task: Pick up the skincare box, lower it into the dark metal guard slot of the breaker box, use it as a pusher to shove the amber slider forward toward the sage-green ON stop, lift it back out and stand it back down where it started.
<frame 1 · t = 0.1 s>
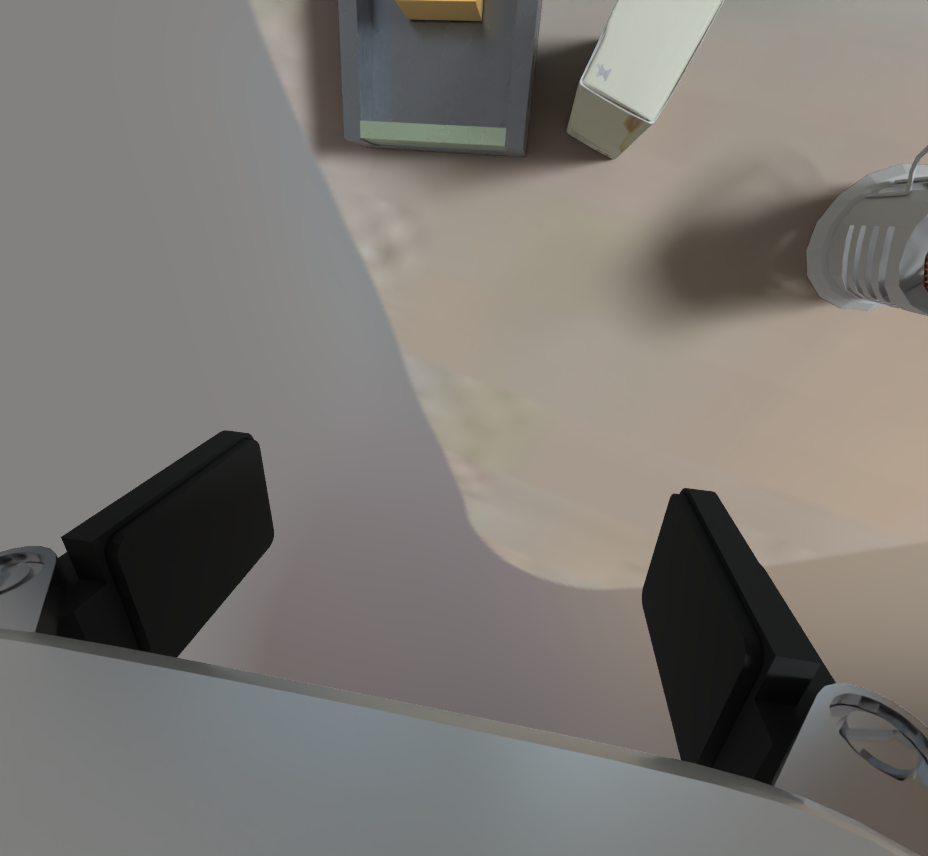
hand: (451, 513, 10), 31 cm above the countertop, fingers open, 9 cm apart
french press: (878, 229, 32), on the countertop
skincare box: (614, 99, 31), on the countertop
breaker box: (449, 29, 31), on the countertop
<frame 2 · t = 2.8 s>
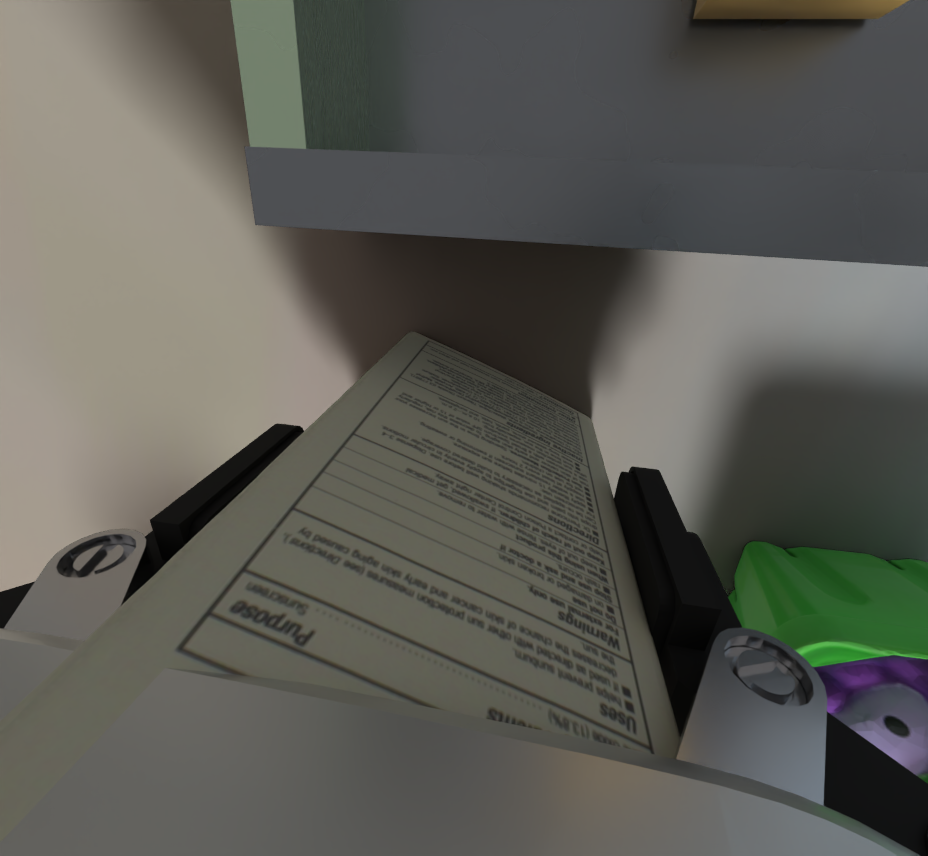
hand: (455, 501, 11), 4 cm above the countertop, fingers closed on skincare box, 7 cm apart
skincare box: (479, 428, 14), on the countertop, touching gripper
fruit basket: (802, 644, 16), on the countertop
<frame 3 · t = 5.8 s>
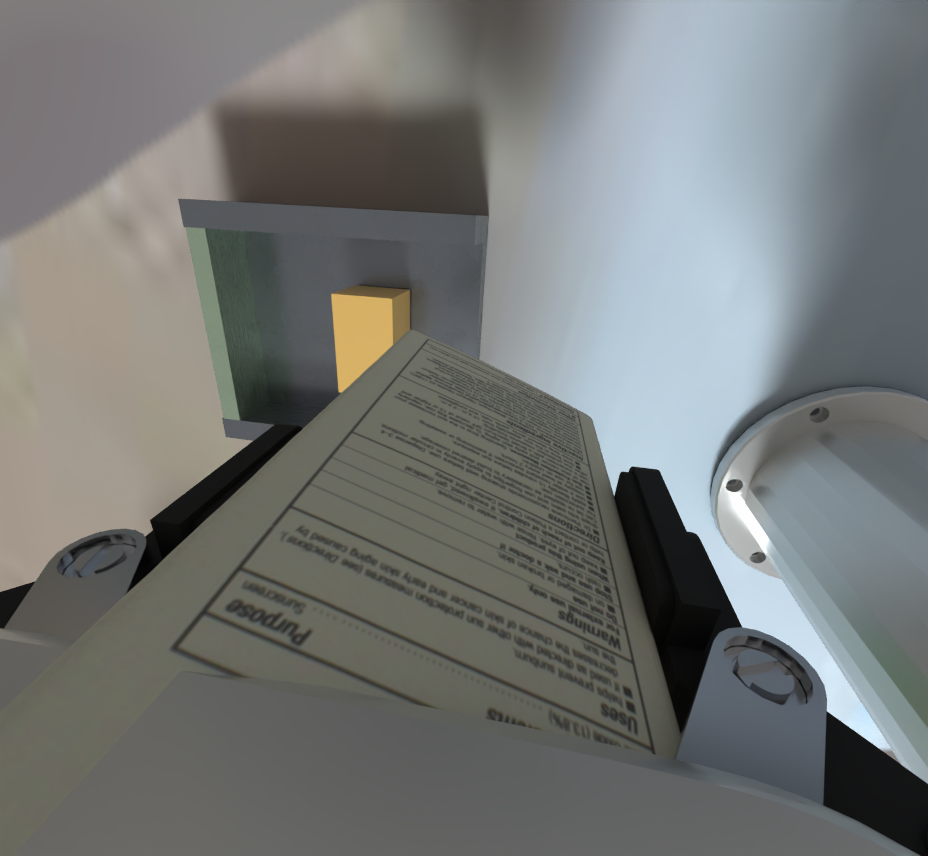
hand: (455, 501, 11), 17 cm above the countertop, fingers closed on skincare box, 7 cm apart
slider: (374, 340, 23), point 3 cm above the countertop, slide at 0.0 cm
skincare box: (479, 427, 14), point 12 cm above the countertop, touching gripper
breaker box: (368, 325, 26), on the countertop
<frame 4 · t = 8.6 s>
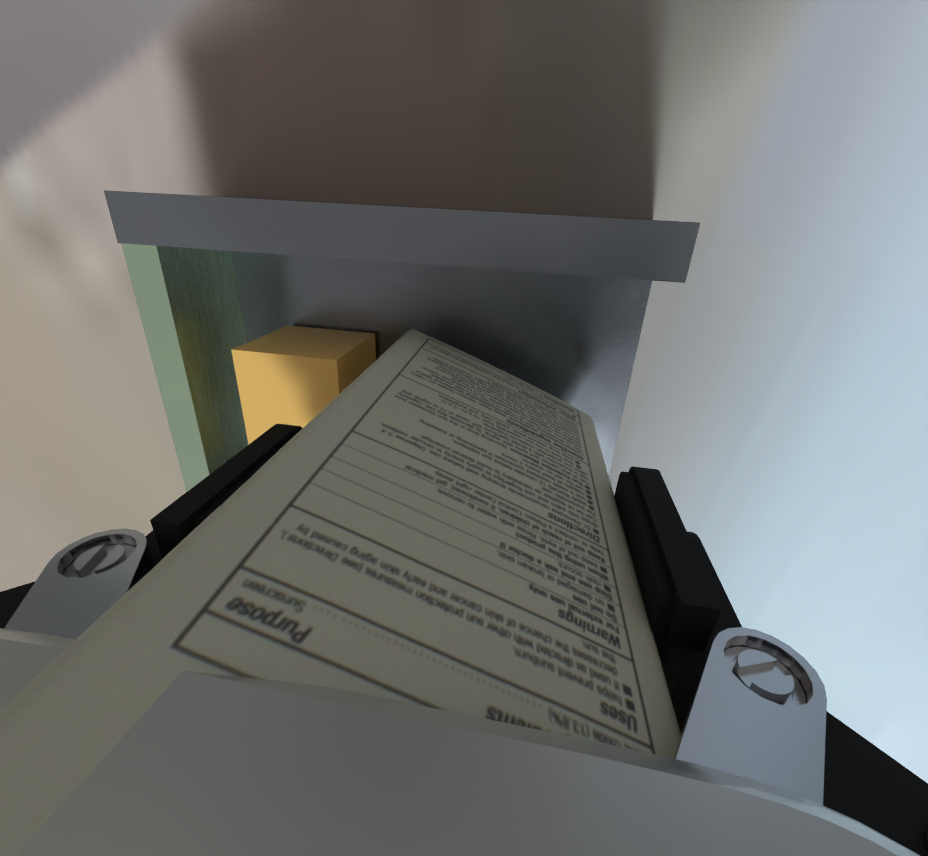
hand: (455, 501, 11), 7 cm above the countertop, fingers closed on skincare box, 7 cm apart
slider: (317, 417, 14), point 3 cm above the countertop, slide at 4.5 cm
skincare box: (479, 427, 14), point 3 cm above the countertop, touching gripper
breaker box: (430, 392, 17), on the countertop
when the fingers open (5 cm above the countertop, at t = 13.6 s): skincare box drops 1 cm, on the countertop.
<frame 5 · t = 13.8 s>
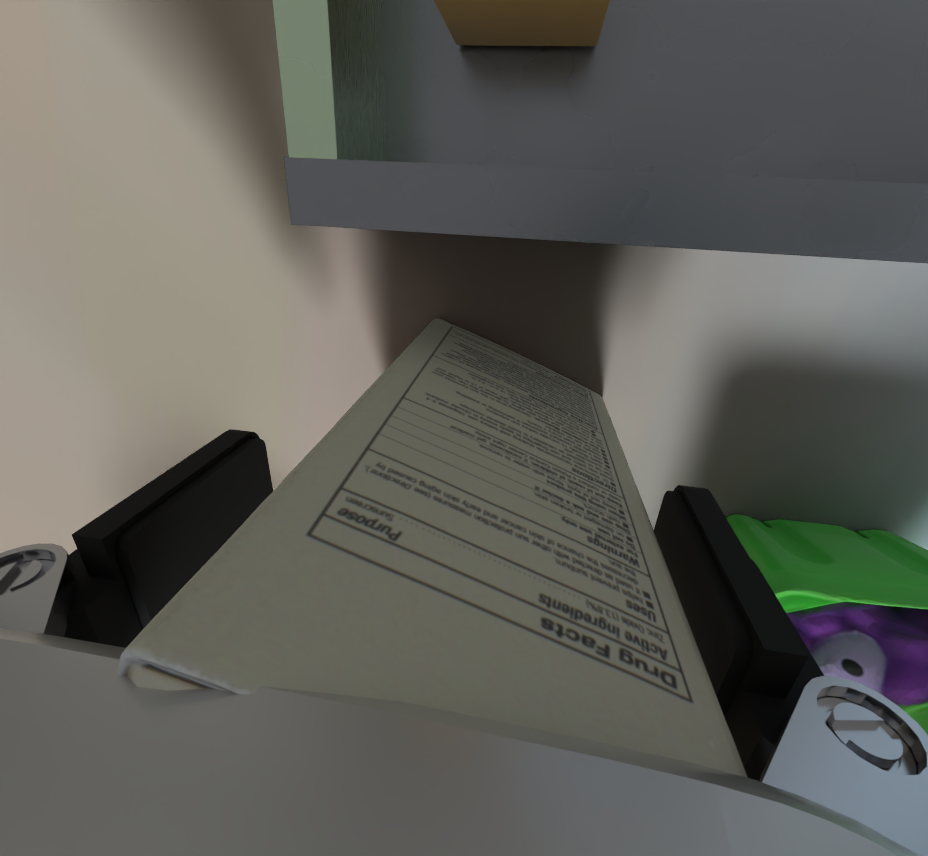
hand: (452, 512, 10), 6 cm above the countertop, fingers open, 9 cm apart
skincare box: (497, 408, 15), on the countertop
fruit basket: (780, 612, 17), on the countertop
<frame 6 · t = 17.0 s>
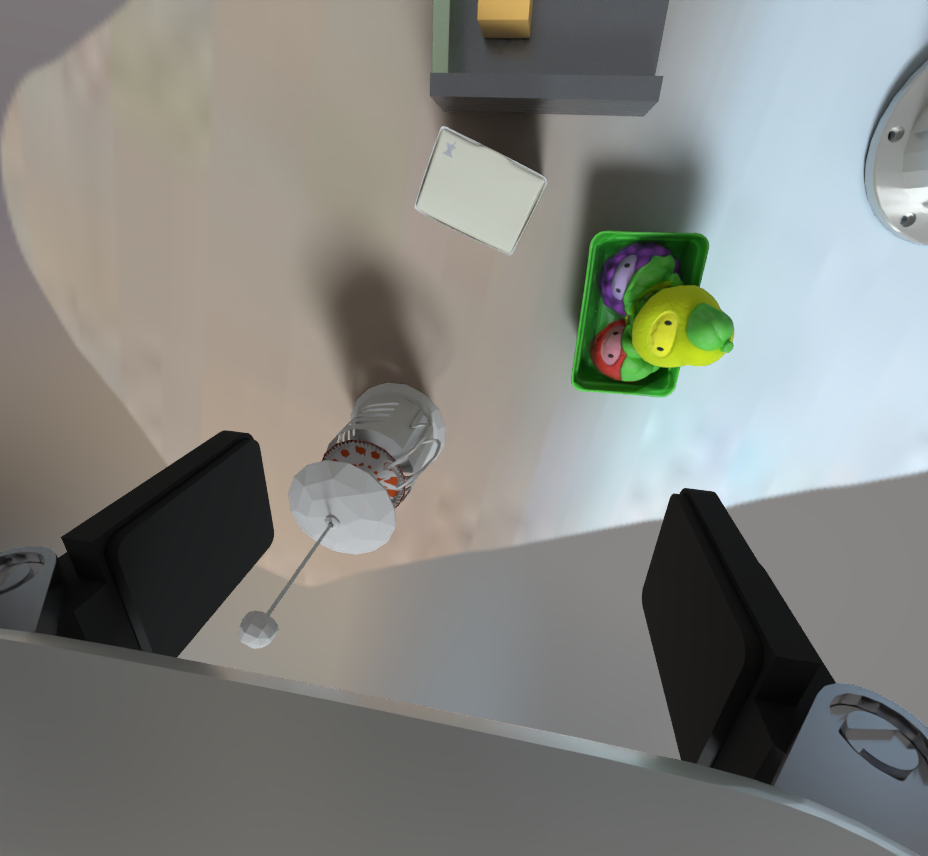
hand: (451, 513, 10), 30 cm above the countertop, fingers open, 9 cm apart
french press: (405, 424, 44), on the countertop
skincare box: (497, 200, 35), on the countertop
fruit basket: (630, 306, 36), on the countertop
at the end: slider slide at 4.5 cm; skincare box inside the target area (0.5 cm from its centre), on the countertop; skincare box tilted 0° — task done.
